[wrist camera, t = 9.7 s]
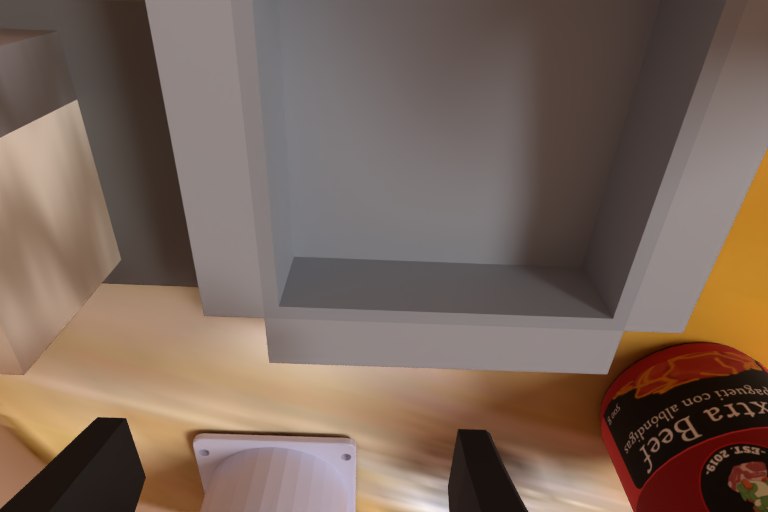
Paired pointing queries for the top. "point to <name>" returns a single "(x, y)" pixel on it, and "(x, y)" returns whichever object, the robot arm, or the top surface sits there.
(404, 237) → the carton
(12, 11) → the rubber mat
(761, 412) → the canned food
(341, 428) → the top surface
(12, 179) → the maple block
